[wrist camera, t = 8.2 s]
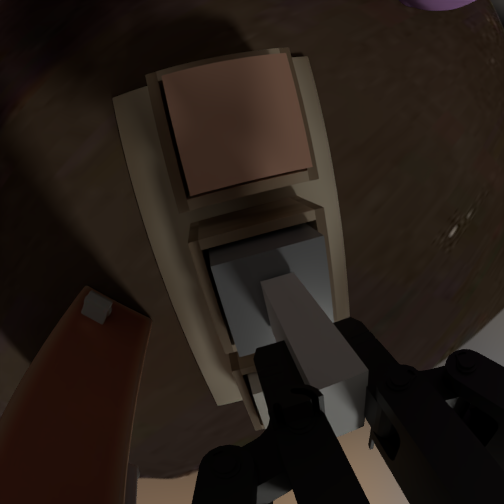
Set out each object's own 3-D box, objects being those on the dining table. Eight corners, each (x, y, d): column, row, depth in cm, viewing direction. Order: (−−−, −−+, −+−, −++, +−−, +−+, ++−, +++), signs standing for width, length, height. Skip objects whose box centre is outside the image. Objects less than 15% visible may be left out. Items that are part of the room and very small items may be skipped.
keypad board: (217, 402, 22) (222, 443, 18) (113, 99, 14) (87, 82, 10) (349, 361, 23) (372, 394, 19) (305, 58, 15) (335, 34, 11)
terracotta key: (193, 186, 15) (190, 196, 11) (171, 96, 13) (161, 75, 9) (285, 163, 15) (312, 166, 11) (264, 76, 13) (286, 52, 10)
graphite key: (230, 316, 17) (239, 357, 14) (207, 239, 16) (210, 266, 12) (308, 293, 18) (334, 327, 14) (295, 216, 16) (324, 235, 12)
